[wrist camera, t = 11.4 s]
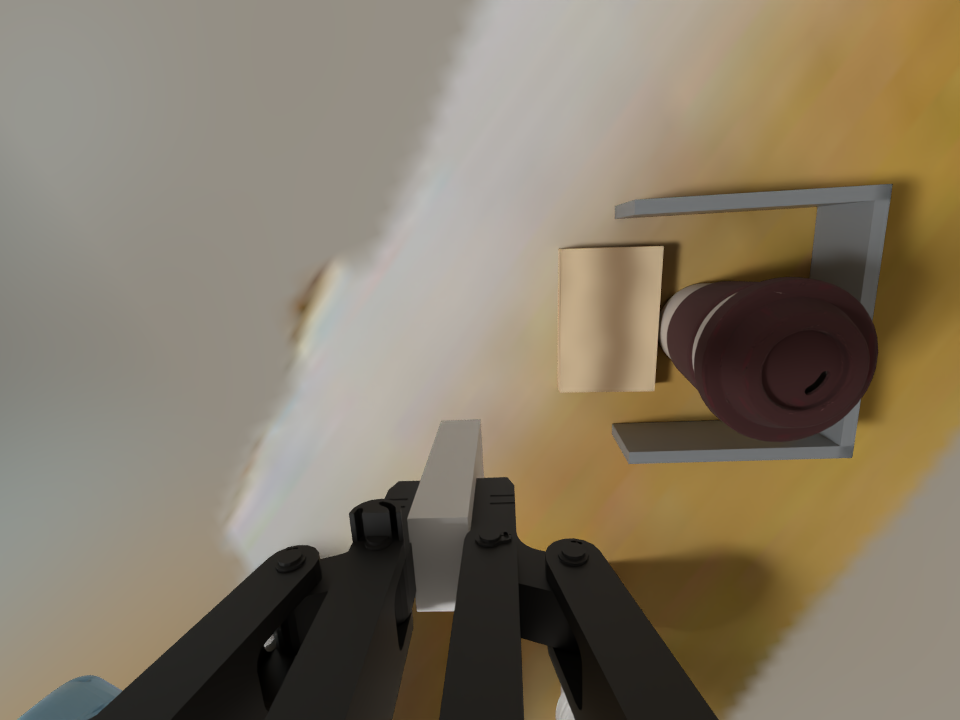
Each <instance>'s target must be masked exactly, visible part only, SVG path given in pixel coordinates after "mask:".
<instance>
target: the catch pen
mask: <svg viewBox="0 0 960 720" xmlns="http://www.w3.org/2000/svg"><path fill="white" fill-rule="evenodd" d="M892 185H893V184H883V185H867V186H851V187H835V188H818V189H802V190H786V191H770V192H753V193H737V194H721V195H705V196H689V197H672V198H656V199H640V200H633V201H630V202H626V203H623V204H620V205H617V206H615V219H621V218H638V217H655V216H672V215H689V214H706V213H722V212H739V211H756V210H773V209H790V208H807V207H818V208H817V217H816V226H815V235H814V243H813V252H812V261H811V270H810V279H815V280H821V281H825V282H828V283H831V284H834V285H836V286H838V287H840V288H842V289H844V290H846V291H847V292H849V293H850V294H851V295H852V296H854V297H855V298H856V299H857V300H858V301H859V302H860V303H861V304H862V305H863V306H864V308H865V309H866V311H867V312H868V314H869V316H870V318H871V320H873V314H874V307H875V300H876V293H877V286H878V280H879V273H880V266H881V259H882V253H883V246H884V239H885V232H886V226H887V219H888V212H889V205H890V199H891V192H892ZM860 401H861V399H860ZM860 401H859V402H858V404H857V405H856V406H855V407H854V408H853V409H852V410H851V411H850V412H849V413H848V414H847V415H846V416H845V417H844V418H843V419H841V420H840V421H839V422H837V423H836V424H834V425H833V426H831V427H829V428H828V429H826V430H824V431H822V432H820V433H817V434H815V435H812V436H810V437H807V438H803V439H799V440H794V441H786V442H768V441H761V440H757V439H753V438H749V437H747V436H744V435H742V434H740V433H738V432H736V431H735V430H733V429H731V428H730V427H729V426H727V425H726V424H725V423H724V422H722V421H721V420H713V421H682V422H652V423H621V424H612V435H613V437H614V438H615V440H616V442H617V444H618V446H619V447H620V449H621V451H622V453H623V454H624V456H625V458H626V460H627V462H628V463H629V464H641V463H678V462H715V461H751V460H788V459H825V458H852V456H853V449H854V442H855V435H856V429H857V422H858V415H859V408H860Z"/></svg>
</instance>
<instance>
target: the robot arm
mask: <svg viewBox="0 0 960 720" xmlns="http://www.w3.org/2000/svg"><path fill="white" fill-rule="evenodd" d="M349 518H350V525H351V532H352V540H353V543H352V545H351V547H350V549H349V551H348V552H346V553H343V554H340V555H337V556H332V557H328V558H324V559H320V556H319V552H318V551H317V550H316V548H314V547H311V546H308V545H297V546H293V547H292V546H291V547H288V548H286V549H283V550H281V551H279V552H277V553H275V554H274V555H272V556H271V557H269V558H268V559H267V560H266V561H265V562H264V563H263V564H262V565H260V566H259V567H258V568H257V569H256V570H255V571H254V572H253V573H252V574H251V575H249V576H248V577H247V578H246V579H245V580H244V581H243V582H242V583H241V584H240V585H238V586H237V587H236V588H235V589H234V590H233V591H232V592H231V593H230V594H229V595H227V596H226V597H225V598H224V599H223V600H222V601H221V602H220V603H219V604H218V605H217V606H215V608H213V609H212V610H211V611H210V612H209V613H208V614H207V615H206V616H204V617H203V618H202V619H201V620H200V621H199V622H198V623H197V624H196V625H195V626H193V628H191V629H190V630H189V631H188V632H187V633H186V634H185V635H184V636H183V637H181V638H180V639H179V640H178V641H177V642H176V643H175V644H174V645H173V646H172V647H170V648H169V649H168V650H167V651H166V652H165V653H164V654H163V655H162V656H161V657H159V658H158V660H156V661H155V662H154V663H153V664H152V665H151V666H150V667H148V669H146V670H145V671H144V672H143V673H142V674H141V675H140V676H139V677H138V678H137V679H135V680H134V681H133V682H132V683H131V684H130V685H129V686H128V687H127V688H125V689H124V690H123V691H122V690H120V689H118V688H117V687H115V686H114V685H112V684H110V683H108V682H107V681H105V680H104V679H102V678H100V677H97V676H93V675H92V676H91V675H87V676H81V677H78V678H75V679H72V680H70V681H69V682H67V683H65V684H63V685H62V686H60V687H59V688H57V689H56V690H54V691H53V692H51V693H50V694H49V695H47V696H46V697H45V698H44V699H42V700H41V701H40V702H38V703H37V704H36V705H35V706H33V707H32V708H31V709H29V710H28V711H27V712H26V713H25V714H23V715H22V716H21V717H20V718H18V719H17V720H392V717H393V713H394V709H395V704H396V700H397V696H398V691H399V687H400V683H401V678H402V674H403V670H404V665H405V661H406V657H407V652H408V648H409V644H410V639H411V635H412V631H413V615H412V607H413V603H414V599H415V598H416V607H417V612H430V611H454V616H453V623H452V631H451V638H450V645H449V653H448V660H447V667H446V674H445V682H444V689H443V696H442V703H441V711H440V718H439V720H524V708H523V683H522V658H521V638H523V639H527V640H530V641H534V642H537V643H541V644H544V645H547V646H548V652H549V656H550V658H551V661H552V663H553V666H554V668H555V671H556V673H557V676H558V678H559V681H560V683H561V686H562V688H563V691H564V693H565V696H566V698H567V701H568V704H569V706H570V709H571V711H572V714H573V716H574V719H575V720H718V718H717V717H716V715H715V714H714V713H713V711H712V710H711V708H710V707H709V705H708V704H707V703H706V701H705V700H704V698H703V697H702V696H701V694H700V693H699V691H698V690H697V688H696V687H695V686H694V684H693V683H692V681H691V680H690V678H689V677H688V676H687V674H686V673H685V671H684V670H683V668H682V667H681V666H680V664H679V663H678V661H677V660H676V658H675V657H674V656H673V654H672V653H671V651H670V650H669V649H668V647H667V646H666V644H665V643H664V641H663V640H662V639H661V637H660V636H659V634H658V633H657V631H656V630H655V629H654V627H653V626H652V624H651V623H650V621H649V620H648V619H647V617H646V616H645V614H644V613H643V612H642V610H641V609H640V607H639V606H638V604H637V603H636V602H635V600H634V599H633V597H632V596H631V594H630V593H629V592H628V590H627V589H626V587H625V586H624V584H623V583H622V582H621V580H620V579H619V577H618V576H617V574H616V573H615V572H614V570H613V569H612V567H611V566H610V565H609V563H608V562H607V560H606V559H605V557H604V556H603V555H602V553H601V552H600V550H598V549H597V548H596V547H595V546H594V545H593V544H591V543H589V542H586V541H584V540H579V539H574V538H573V539H562V540H558V541H555V542H553V543H552V544H551V545H550V546H548V548H547V550H546V552H545V551H540V550H537V549H533V548H531V547H529V546H527V545H525V544H524V543H523V542H521V541H520V539H519V538H518V537H517V533H516V516H515V493H514V484H513V483H512V482H511V481H510V480H509V479H508V478H507V477H500V478H484V471H483V454H482V437H481V420H480V419H476V420H447V421H441V423H440V426H439V429H438V432H437V435H436V437H435V440H434V443H433V446H432V449H431V452H430V455H429V458H428V460H427V463H426V466H425V469H424V472H423V475H422V478H421V480H420V481H399V482H398V483H396V484H395V485H394V486H393V487H391V488H390V489H389V490H388V492H387V495H386V497H385V499H376V500H370V501H367V502H364V503H361V504H360V505H358V506H356V507H355V508H353V509H352V511H351V512H350V513H349ZM272 634H274V640H273V642H272V643H271V644H270V645H268V646H266V647H265V648H264V644H265V643H266V641H267V640H268V639H269V638H270V637H271V635H272Z"/></svg>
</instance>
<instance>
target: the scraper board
mask: <svg viewBox="0 0 960 720" xmlns="http://www.w3.org/2000/svg"><path fill="white" fill-rule="evenodd" d="M663 249H664V246H636V247H602V248H568V249H559V258H558V352H557V386H558V389H559V392H627V391H654V390H655V374H656V359H657V343H658V327H659V312H660V296H661V281H662V265H663Z"/></svg>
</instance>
